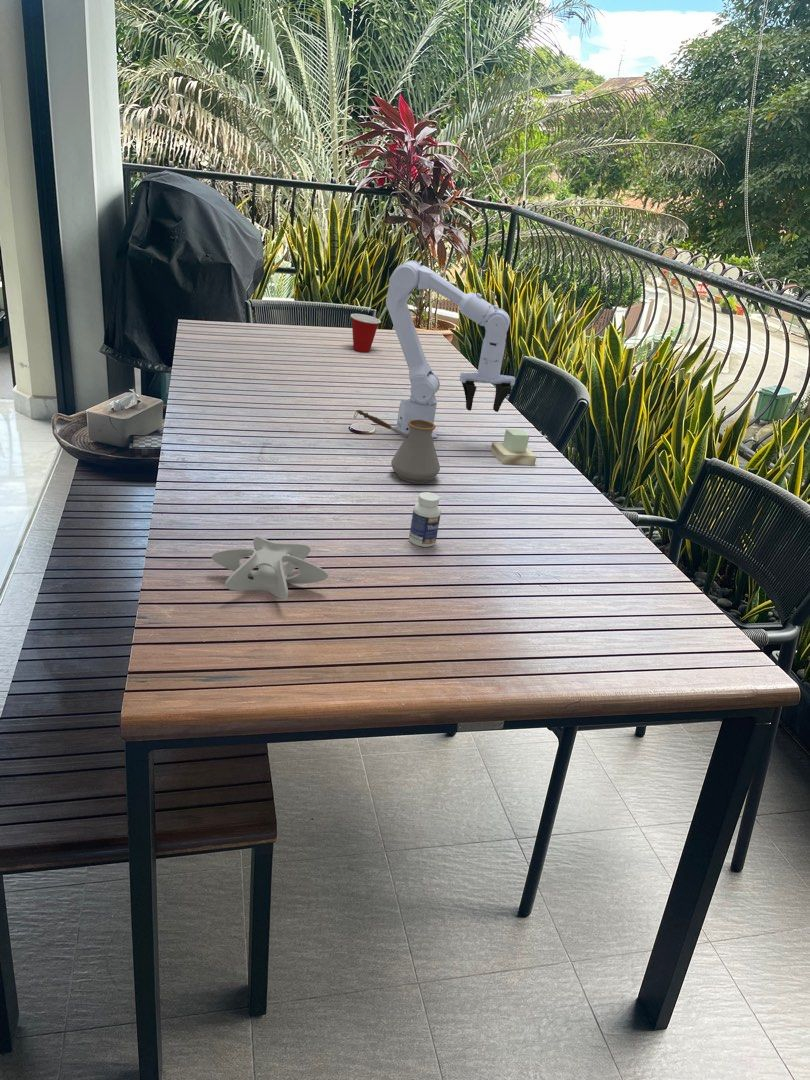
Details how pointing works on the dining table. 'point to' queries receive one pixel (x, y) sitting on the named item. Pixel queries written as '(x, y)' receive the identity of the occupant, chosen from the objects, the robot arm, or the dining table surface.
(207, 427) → the dining table surface
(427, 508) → the pill bottle
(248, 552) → the sculpture
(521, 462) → the beige block
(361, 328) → the plastic cup
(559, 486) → the dining table surface
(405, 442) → the coffee pot
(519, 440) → the sage cube
